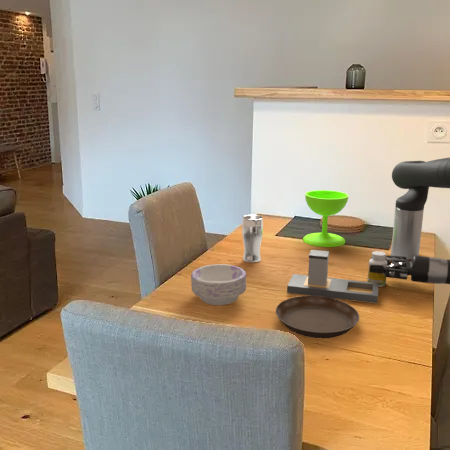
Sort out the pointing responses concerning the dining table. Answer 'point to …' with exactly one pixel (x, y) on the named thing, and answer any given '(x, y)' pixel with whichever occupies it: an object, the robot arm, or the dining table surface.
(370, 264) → the supplement bottle
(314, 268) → the gray slotted tray
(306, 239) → the wineglass
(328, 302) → the plant saucer
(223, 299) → the paper bowls
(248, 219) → the beer glass
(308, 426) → the dining table surface
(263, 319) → the dining table surface
